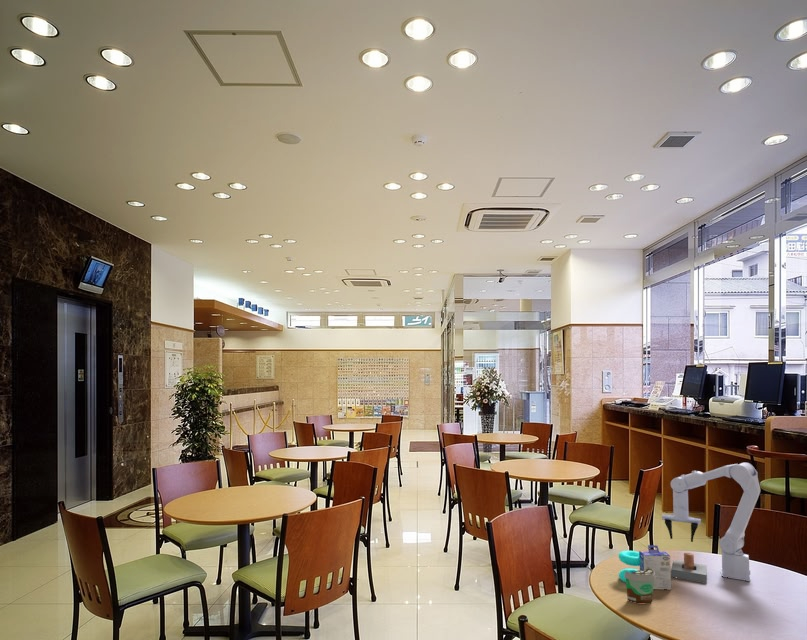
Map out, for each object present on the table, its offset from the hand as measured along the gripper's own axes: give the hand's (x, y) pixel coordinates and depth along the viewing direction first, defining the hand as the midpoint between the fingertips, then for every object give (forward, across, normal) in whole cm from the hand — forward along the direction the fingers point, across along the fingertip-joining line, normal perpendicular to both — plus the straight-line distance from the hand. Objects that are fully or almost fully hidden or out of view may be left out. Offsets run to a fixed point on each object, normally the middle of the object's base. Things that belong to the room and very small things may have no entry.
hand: (681, 539), depth 236 cm
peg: (+9, +3, -14) cm, 17 cm away
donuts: (+10, -16, -32) cm, 37 cm away
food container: (+10, -10, -50) cm, 52 cm away
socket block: (+9, +3, -14) cm, 17 cm away
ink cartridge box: (+10, -8, -34) cm, 36 cm away
